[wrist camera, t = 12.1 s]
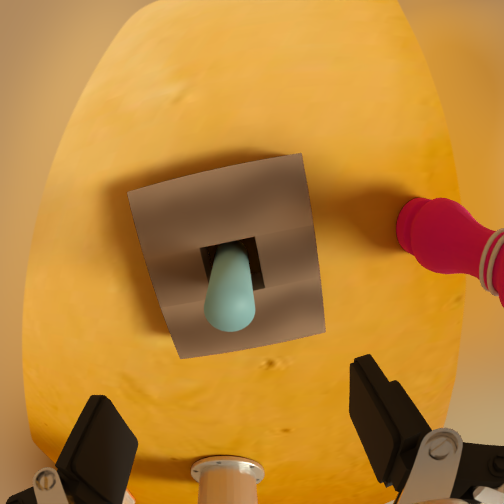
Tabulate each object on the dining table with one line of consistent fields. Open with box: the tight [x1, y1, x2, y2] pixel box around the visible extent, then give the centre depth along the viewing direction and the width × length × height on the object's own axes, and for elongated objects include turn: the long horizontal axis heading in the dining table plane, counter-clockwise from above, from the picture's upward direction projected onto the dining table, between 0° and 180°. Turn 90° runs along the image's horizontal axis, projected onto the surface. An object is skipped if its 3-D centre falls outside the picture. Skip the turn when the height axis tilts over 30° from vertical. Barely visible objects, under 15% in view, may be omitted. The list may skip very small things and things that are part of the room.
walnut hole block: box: [127, 153, 326, 359], centre depth 25 cm, size 16×14×4 cm
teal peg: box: [204, 240, 255, 332], centre depth 22 cm, size 3×3×11 cm
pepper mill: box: [396, 198, 504, 307], centre depth 17 cm, size 7×7×20 cm
